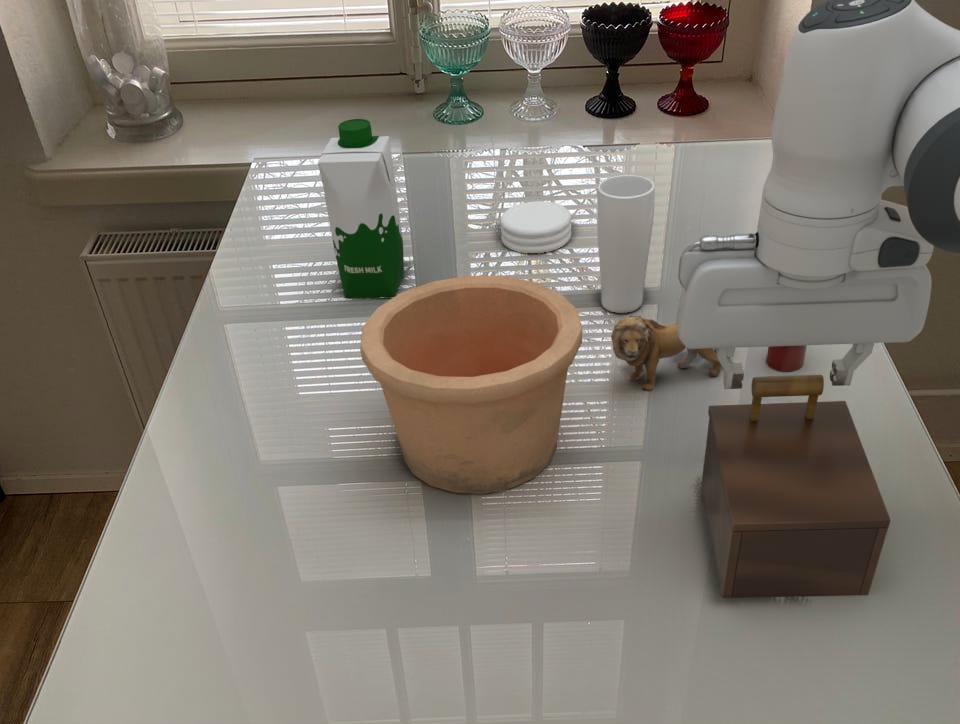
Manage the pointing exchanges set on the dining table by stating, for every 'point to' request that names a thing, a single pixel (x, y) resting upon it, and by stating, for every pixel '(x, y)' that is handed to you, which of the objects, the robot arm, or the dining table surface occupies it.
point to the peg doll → (786, 357)
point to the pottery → (474, 377)
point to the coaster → (536, 227)
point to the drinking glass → (624, 239)
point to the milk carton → (363, 211)
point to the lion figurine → (653, 347)
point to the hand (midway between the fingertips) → (785, 384)
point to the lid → (794, 461)
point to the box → (785, 551)
